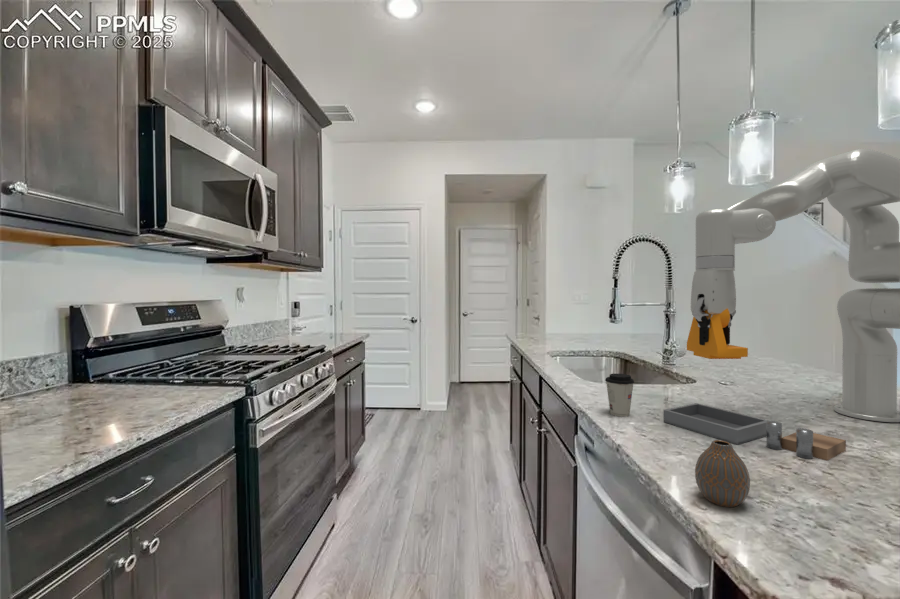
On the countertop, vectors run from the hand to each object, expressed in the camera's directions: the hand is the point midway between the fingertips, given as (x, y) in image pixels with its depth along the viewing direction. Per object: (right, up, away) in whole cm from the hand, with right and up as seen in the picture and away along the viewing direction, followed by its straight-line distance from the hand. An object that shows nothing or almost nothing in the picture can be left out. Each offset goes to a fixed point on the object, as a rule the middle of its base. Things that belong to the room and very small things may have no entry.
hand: (714, 343), depth 93 cm
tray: (0, -19, 0) cm, 19 cm away
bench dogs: (+6, -20, -14) cm, 25 cm away
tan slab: (+11, -20, -13) cm, 26 cm away
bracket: (+1, -3, 0) cm, 3 cm away
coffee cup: (-17, -20, +12) cm, 28 cm away
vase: (-20, -20, -32) cm, 42 cm away
